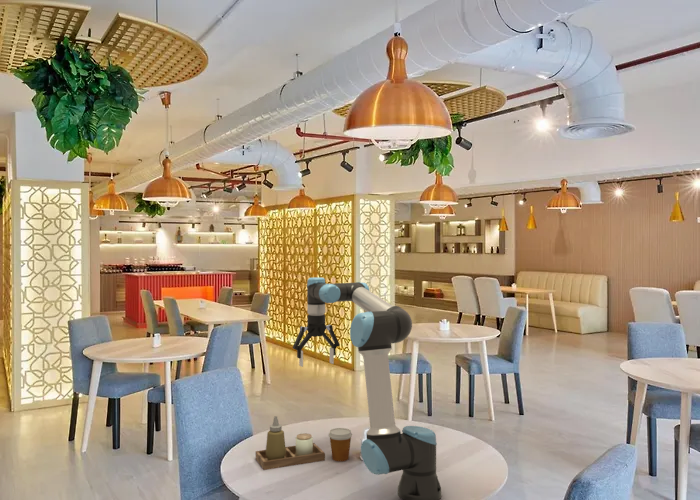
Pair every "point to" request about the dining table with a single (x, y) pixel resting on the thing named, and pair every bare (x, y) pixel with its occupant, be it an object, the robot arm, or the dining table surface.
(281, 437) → the squeeze bottle
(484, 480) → the dining table surface
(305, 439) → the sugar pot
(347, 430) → the disposable coffee cup
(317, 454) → the caddy
